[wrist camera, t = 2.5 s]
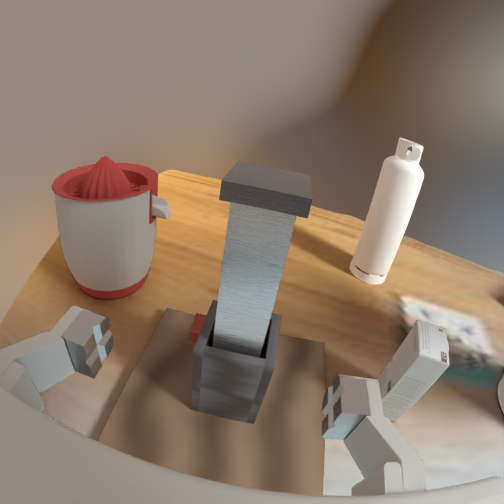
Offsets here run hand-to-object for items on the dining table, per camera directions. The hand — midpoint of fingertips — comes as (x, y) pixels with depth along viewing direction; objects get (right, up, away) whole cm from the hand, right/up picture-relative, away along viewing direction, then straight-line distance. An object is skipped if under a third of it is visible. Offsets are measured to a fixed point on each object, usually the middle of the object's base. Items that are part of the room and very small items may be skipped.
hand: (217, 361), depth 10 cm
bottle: (+25, -1, +51) cm, 57 cm away
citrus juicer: (-21, -1, +37) cm, 42 cm away
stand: (-2, -13, +22) cm, 26 cm away
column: (-1, -11, +21) cm, 24 cm away
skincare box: (+18, -16, +24) cm, 34 cm away
